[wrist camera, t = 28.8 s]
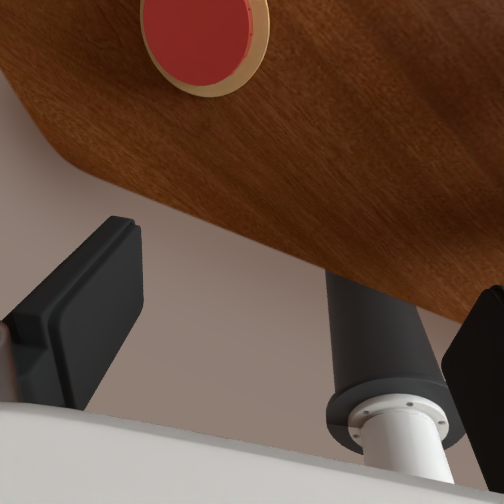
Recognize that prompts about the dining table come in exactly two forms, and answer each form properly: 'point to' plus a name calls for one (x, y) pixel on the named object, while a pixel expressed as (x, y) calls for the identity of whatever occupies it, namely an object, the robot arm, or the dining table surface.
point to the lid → (198, 37)
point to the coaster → (244, 70)
